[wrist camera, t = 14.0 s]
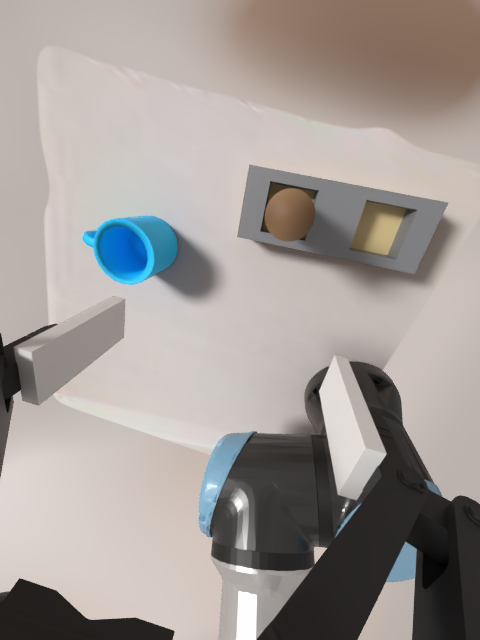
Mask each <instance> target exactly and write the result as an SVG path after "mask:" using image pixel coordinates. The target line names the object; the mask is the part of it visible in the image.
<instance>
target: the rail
mask: <svg viewBox="0 0 480 640" xmlns="http://www.w3.org/2000/svg"><path fill="white" fill-rule="evenodd" d="M289 188H295V189H299V190H302V191H303V192H305V193H306V194H307V195H308V196H309V197H310V198H311V200H312V201H313V203H314V207H315V219H314V223H313V225H312V227H311V229H310V230H309V232H308V233H307V234H306V235H305V236H303V237H302V238H300V239H298V240H295V241H282V240H279V239H277V238H275V237H274V236H273V235H272V234H271V233H270V232H269V230H268V228H267V226H266V223H265V211H266V207H267V205H268V203H269V201H270V200H271V198H272V197H273V196H274V195H275V194H276V193H278V192H280V191H282V190H284V189H289ZM447 205H448V203H446V202H441V201H436V200H431V199H426V198H420V197H415V196H410V195H405V194H399V193H394V192H389V191H384V190H379V189H373V188H368V187H363V186H358V185H352V184H347V183H342V182H337V181H332V180H326V179H321V178H316V177H311V176H305V175H300V174H295V173H290V172H285V171H279V170H274V169H269V168H264V167H258V166H253V165H249V170H248V176H247V182H246V188H245V194H244V200H243V206H242V212H241V218H240V224H239V230H238V236H237V237H240V238H245V239H250V240H254V241H259V242H264V243H269V244H273V245H278V246H283V247H288V248H292V249H297V250H302V251H307V252H311V253H316V254H321V255H326V256H330V257H335V258H340V259H345V260H349V261H354V262H359V263H364V264H368V265H373V266H378V267H383V268H387V269H392V270H397V271H402V272H406V273H411V274H415V272H416V270H417V268H418V266H419V264H420V262H421V259H422V257H423V255H424V253H425V251H426V249H427V247H428V245H429V243H430V240H431V238H432V236H433V234H434V232H435V230H436V228H437V226H438V224H439V222H440V219H441V217H442V215H443V213H444V211H445V209H446V207H447Z"/></svg>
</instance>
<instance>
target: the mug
mask: <svg viewBox="0 0 480 640" xmlns="http://www.w3.org/2000/svg"><path fill="white" fill-rule="evenodd" d="M83 241H84V242H85V243H86V244H87V245H89V246H91V247H94V253H95V257H96V259H97V261H98V264H99V266H100V267H101V268H102V269H103V271H104V272H105V273H106V274H107V275H108V276H110V277H111V278H112V279H113V280H115V281H118V282H120V283H122V284H130V285H133V284H137V283H141V282H142V281H144V280H146V279H148V278H150V277H151V276H153V275H155V274H157V273H159V272H161V271H162V270H164V269H166V268H167V267H169V266H170V265H172V263H173V262H174V260H175V259H176V256H177V252H178V241H177V238H176V235H175V233H174V231H173V230H172V228H171V227H170V226H169V225H168V224H167V223H166V222H165V221H163V220H162V219H160V218H157V217H155V216H139V217H128V218H118V219H112V220H109V221H106V222H104V223H103V224H102V225H101V226H100V227H99V228H98V230H97V231H87V232H85V233H84V234H83Z"/></svg>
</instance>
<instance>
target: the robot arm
mask: <svg viewBox="0 0 480 640" xmlns="http://www.w3.org/2000/svg"><path fill="white" fill-rule="evenodd" d="M124 322H125V299H124V298H120V297H116V296H112V297H110V298H109V299H107V300H105V301H103V302H101V303H99V304H97V305H95V306H93V307H91V308H89V309H87V310H85V311H83V312H81V313H79V314H77V315H75V316H73V317H71V318H69V319H67V320H66V321H64V322H62V323H60V324H53V325H49V326H45V327H43V328H40V329H38V330H37V331H35V332H32V333H30V334H28V335H27V336H24V337H22V338H20V339H18V340H16V341H14V342H12V343H10V344H8V345H6V346H4V347H3V343H2V337H1V333H0V476H1V471H2V465H3V459H4V454H5V448H6V442H7V437H8V431H9V425H10V420H11V414H12V408H13V403H14V401H13V395H14V394H16V393H17V392H18V391H20V390H21V394H22V400H23V401H25V402H29V403H32V404H36V405H40V404H41V403H43V402H44V401H45V400H46V399H47V398H49V397H50V396H51V395H53V394H54V393H55V392H56V391H58V390H59V389H60V388H61V387H63V386H64V385H65V384H66V383H68V382H69V381H70V380H71V379H73V378H74V377H75V376H76V375H78V374H79V373H80V372H81V371H83V370H84V369H85V368H86V367H88V366H89V365H90V364H91V363H93V362H94V361H95V360H96V359H98V358H99V357H100V356H101V355H103V354H104V353H105V352H106V351H108V350H109V349H110V348H111V347H113V346H114V345H115V344H116V343H117V342H119V341H120V340H121V339H122V338H124ZM304 399H305V409H306V413H307V416H308V418H309V420H310V422H311V423H312V425H313V427H314V429H315V430H316V432H317V434H318V435H303V434H265V433H257V432H256V431H252V432H250V433H231V434H228V435H226V436H224V437H223V438H222V439H221V440H220V441H219V442H218V443H217V445H216V447H215V449H214V450H213V452H212V454H211V457H210V459H209V462H208V465H207V468H206V472H205V475H204V479H203V483H202V488H201V493H200V500H199V513H200V516H199V525H200V529H201V531H202V532H203V533H204V534H206V535H207V536H208V537H213V543H212V553H211V559H212V561H213V563H214V565H215V566H216V568H217V570H218V571H219V573H220V575H221V576H222V580H223V583H222V597H221V611H220V626H219V639H218V640H357V639H358V637H359V635H360V633H361V631H362V629H363V627H364V625H365V623H366V621H367V619H368V617H369V615H370V613H371V611H372V609H373V607H374V604H375V603H376V601H377V599H378V596H379V594H380V593H381V590H382V588H383V586H384V584H385V582H397V581H404V580H409V579H413V578H415V593H414V594H415V596H414V614H413V634H412V640H480V504H479V503H477V502H476V501H474V500H472V499H470V498H468V497H465V496H457V497H455V498H454V499H453V500H452V501H449V500H447V499H445V498H443V497H442V495H441V492H440V490H439V488H438V487H437V486H436V485H435V484H434V482H433V480H432V479H431V476H430V475H429V473H428V471H427V469H426V467H425V465H424V464H423V462H422V460H421V458H420V456H419V454H418V452H417V451H416V449H415V447H414V445H413V443H412V441H411V440H410V438H409V436H408V434H407V432H406V430H405V428H404V427H403V422H402V408H401V399H400V395H399V392H398V390H397V388H396V386H395V385H394V383H393V381H392V380H391V378H389V376H388V375H387V374H386V373H384V372H383V371H382V370H380V369H379V368H377V367H375V366H372V365H370V364H366V363H361V362H349V361H348V358H344V357H340V356H337V355H334V358H333V360H332V362H331V365H330V366H329V367H326V368H324V369H323V370H321V371H320V372H318V373H317V374H316V375H315V376H314V377H313V378H312V379H311V380H310V382H309V383H308V385H307V387H306V390H305V397H304ZM317 546H318V547H325V548H327V549H326V551H325V552H324V553H323V555H322V556H321V557H320V559H319V560H318V561H317V562H316V564H315V563H314V547H317ZM173 636H174V631H173V630H170V629H167V628H164V627H161V626H158V625H155V624H153V623H149V622H146V621H144V620H140V619H138V618H121V619H102V620H89V619H87V618H85V617H84V616H83V615H82V614H81V613H80V612H78V611H77V609H75V608H74V607H73V606H72V605H71V604H70V603H69V602H68V601H67V600H66V599H65V598H64V597H63V596H62V595H61V594H59V593H58V592H57V591H56V590H53V589H50V588H47V587H44V586H41V585H38V584H35V583H32V582H29V581H26V580H23V579H19V580H18V581H17V582H16V584H15V585H14V587H13V588H12V589H11V591H10V592H3V593H0V640H172V639H173Z"/></svg>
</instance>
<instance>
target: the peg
mask: <svg viewBox="0 0 480 640" xmlns="http://www.w3.org/2000/svg"><path fill="white" fill-rule="evenodd" d="M314 219H315V207H314V203H313V201H312V200H311V198H310V197H309V196H308V195H307V194H306V193H305V192H303V191H302V190H299V189H295V188H289V189H284V190H282V191H280V192H278V193H276V194H275V195H274V196H273V197H272V198H271V200H270V201H269V203H268V205H267V207H266V211H265V223H266V226H267V228H268V230H269V232H270V233H271V234H272V235H273V236H274V237H275V238H277V239H279V240H282V241H295V240H298V239H300V238H302V237H303V236H305V235H306V234H307V233H308V232H309V230H310V229H311V227H312V225H313V223H314Z"/></svg>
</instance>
